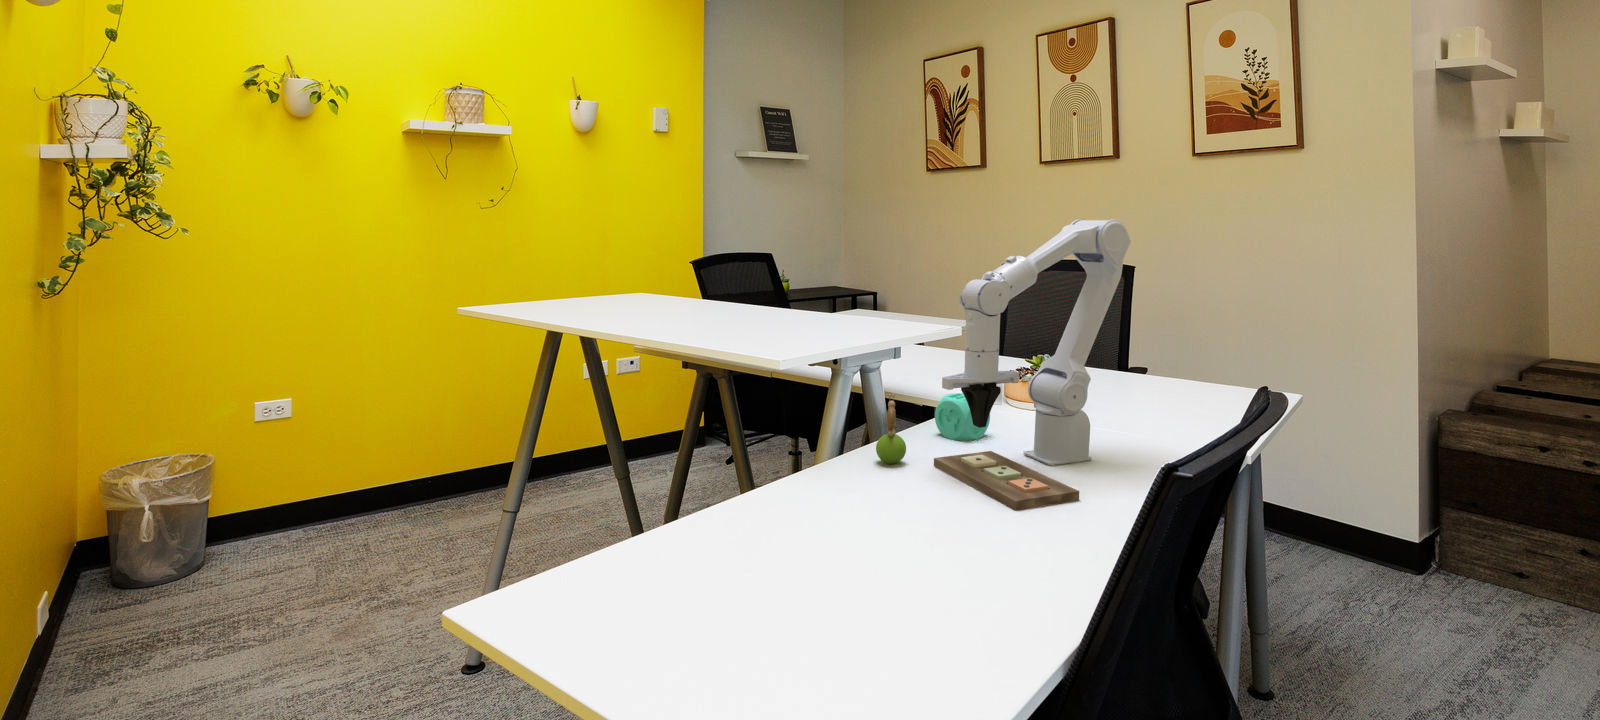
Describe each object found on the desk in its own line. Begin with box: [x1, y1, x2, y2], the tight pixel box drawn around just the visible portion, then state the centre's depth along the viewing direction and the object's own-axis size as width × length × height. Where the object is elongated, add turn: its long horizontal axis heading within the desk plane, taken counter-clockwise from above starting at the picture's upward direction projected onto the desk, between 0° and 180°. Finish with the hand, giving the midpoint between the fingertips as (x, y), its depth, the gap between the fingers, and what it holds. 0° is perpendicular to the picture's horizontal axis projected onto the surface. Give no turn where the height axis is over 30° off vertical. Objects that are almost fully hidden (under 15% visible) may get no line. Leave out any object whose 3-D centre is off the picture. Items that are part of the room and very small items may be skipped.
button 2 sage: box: [983, 466, 1021, 480], centre depth 138 cm, size 4×4×2 cm
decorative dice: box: [934, 392, 991, 442], centre depth 167 cm, size 8×8×8 cm
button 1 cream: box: [961, 455, 997, 468], centre depth 145 cm, size 4×4×2 cm
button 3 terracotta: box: [1008, 478, 1048, 493], centre depth 132 cm, size 4×4×2 cm
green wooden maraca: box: [875, 393, 907, 465], centre depth 149 cm, size 5×6×12 cm
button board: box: [933, 450, 1080, 511], centre depth 138 cm, size 12×24×2 cm, turn 21°
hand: (979, 426), depth 144 cm, fingers closed
